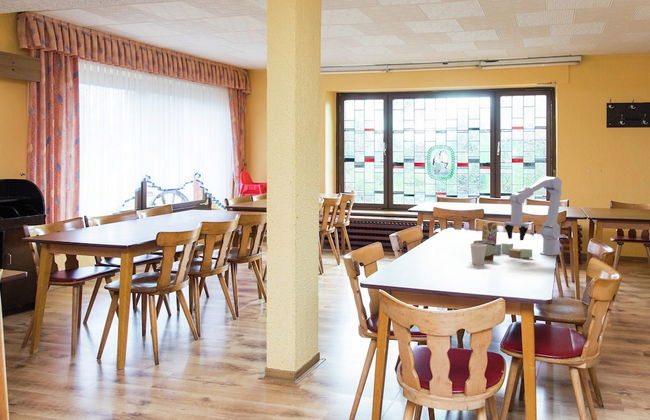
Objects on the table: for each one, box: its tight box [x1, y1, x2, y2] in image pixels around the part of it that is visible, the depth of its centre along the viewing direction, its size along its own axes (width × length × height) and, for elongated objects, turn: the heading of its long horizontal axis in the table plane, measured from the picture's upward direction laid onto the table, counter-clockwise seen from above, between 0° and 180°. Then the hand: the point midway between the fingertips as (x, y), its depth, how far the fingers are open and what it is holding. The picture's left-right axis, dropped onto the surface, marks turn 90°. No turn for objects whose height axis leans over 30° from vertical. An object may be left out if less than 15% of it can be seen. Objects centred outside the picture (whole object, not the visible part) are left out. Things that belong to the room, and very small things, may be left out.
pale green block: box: [520, 248, 533, 260], centre depth 345 cm, size 3×6×5 cm, turn 72°
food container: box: [472, 239, 497, 262], centre depth 340 cm, size 12×6×10 cm, turn 65°
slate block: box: [494, 243, 502, 256], centre depth 360 cm, size 4×4×6 cm
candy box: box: [481, 221, 498, 244], centre depth 386 cm, size 9×4×15 cm, turn 123°
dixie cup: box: [469, 243, 487, 265], centre depth 327 cm, size 8×8×10 cm
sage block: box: [501, 242, 514, 255], centre depth 363 cm, size 4×4×6 cm
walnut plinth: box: [508, 248, 522, 259], centre depth 351 cm, size 6×6×4 cm
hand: (515, 239), depth 348 cm, fingers open, 7 cm apart
